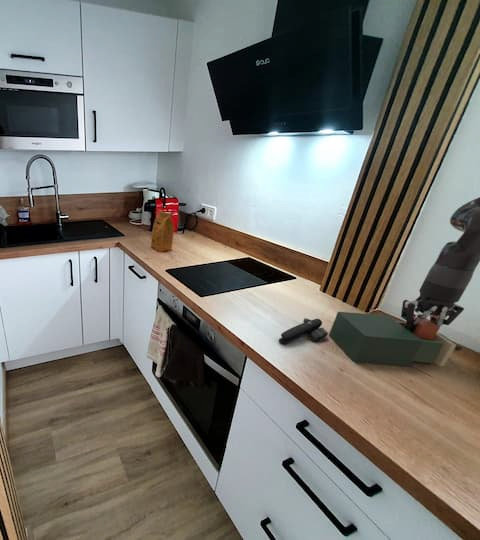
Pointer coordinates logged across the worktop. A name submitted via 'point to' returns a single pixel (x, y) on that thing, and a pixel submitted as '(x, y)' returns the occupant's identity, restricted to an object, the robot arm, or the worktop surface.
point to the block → (426, 329)
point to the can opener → (304, 331)
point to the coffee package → (162, 232)
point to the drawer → (435, 349)
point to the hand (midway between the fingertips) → (417, 334)
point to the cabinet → (374, 339)
